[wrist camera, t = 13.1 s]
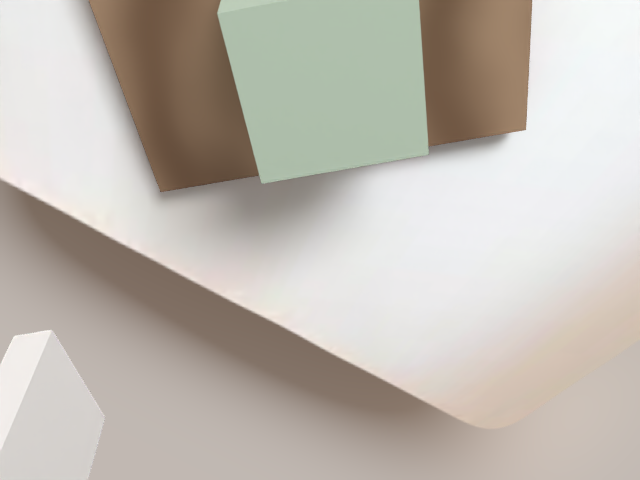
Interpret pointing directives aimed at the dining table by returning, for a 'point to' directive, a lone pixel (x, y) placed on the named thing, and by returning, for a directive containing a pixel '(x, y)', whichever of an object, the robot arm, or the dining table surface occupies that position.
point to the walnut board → (223, 100)
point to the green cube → (327, 82)
